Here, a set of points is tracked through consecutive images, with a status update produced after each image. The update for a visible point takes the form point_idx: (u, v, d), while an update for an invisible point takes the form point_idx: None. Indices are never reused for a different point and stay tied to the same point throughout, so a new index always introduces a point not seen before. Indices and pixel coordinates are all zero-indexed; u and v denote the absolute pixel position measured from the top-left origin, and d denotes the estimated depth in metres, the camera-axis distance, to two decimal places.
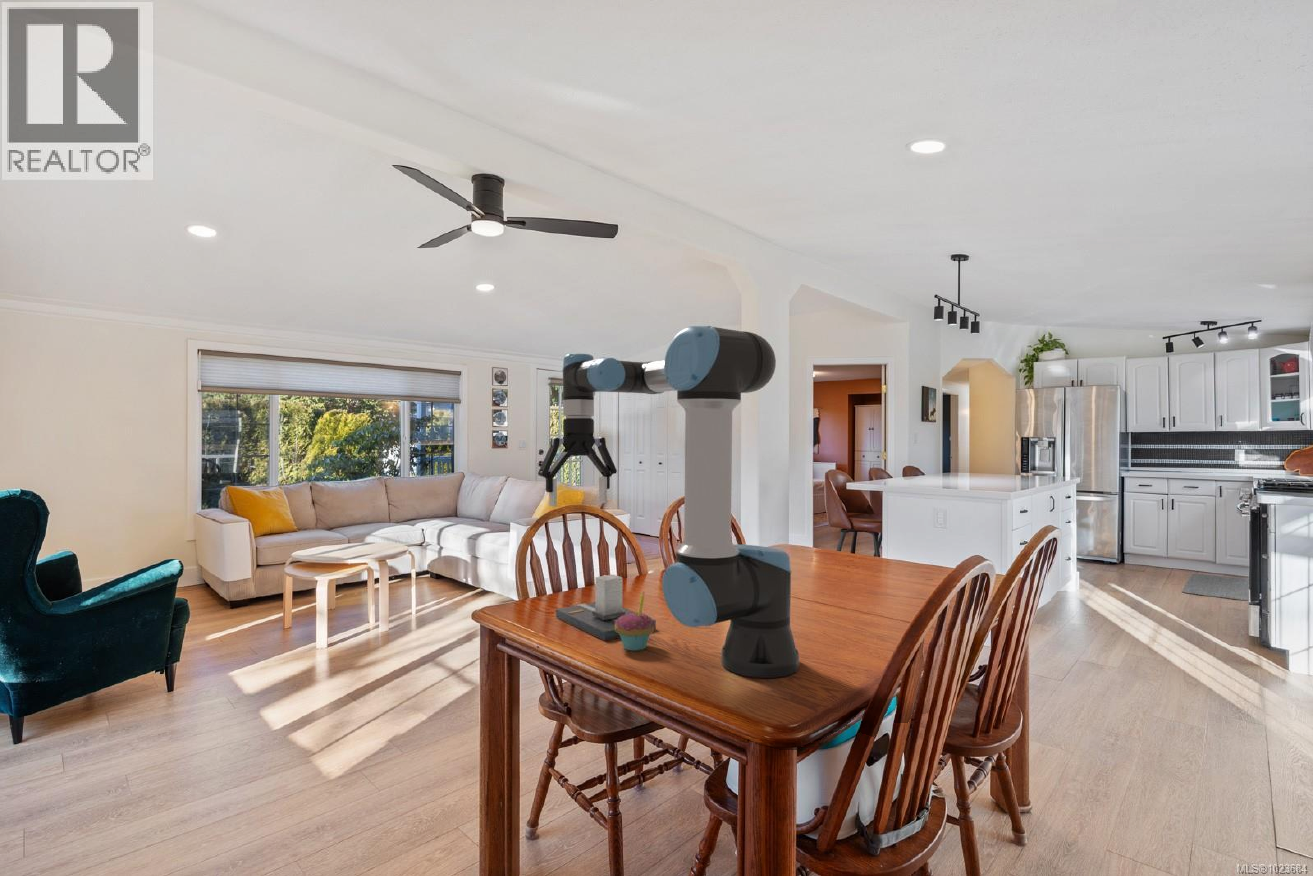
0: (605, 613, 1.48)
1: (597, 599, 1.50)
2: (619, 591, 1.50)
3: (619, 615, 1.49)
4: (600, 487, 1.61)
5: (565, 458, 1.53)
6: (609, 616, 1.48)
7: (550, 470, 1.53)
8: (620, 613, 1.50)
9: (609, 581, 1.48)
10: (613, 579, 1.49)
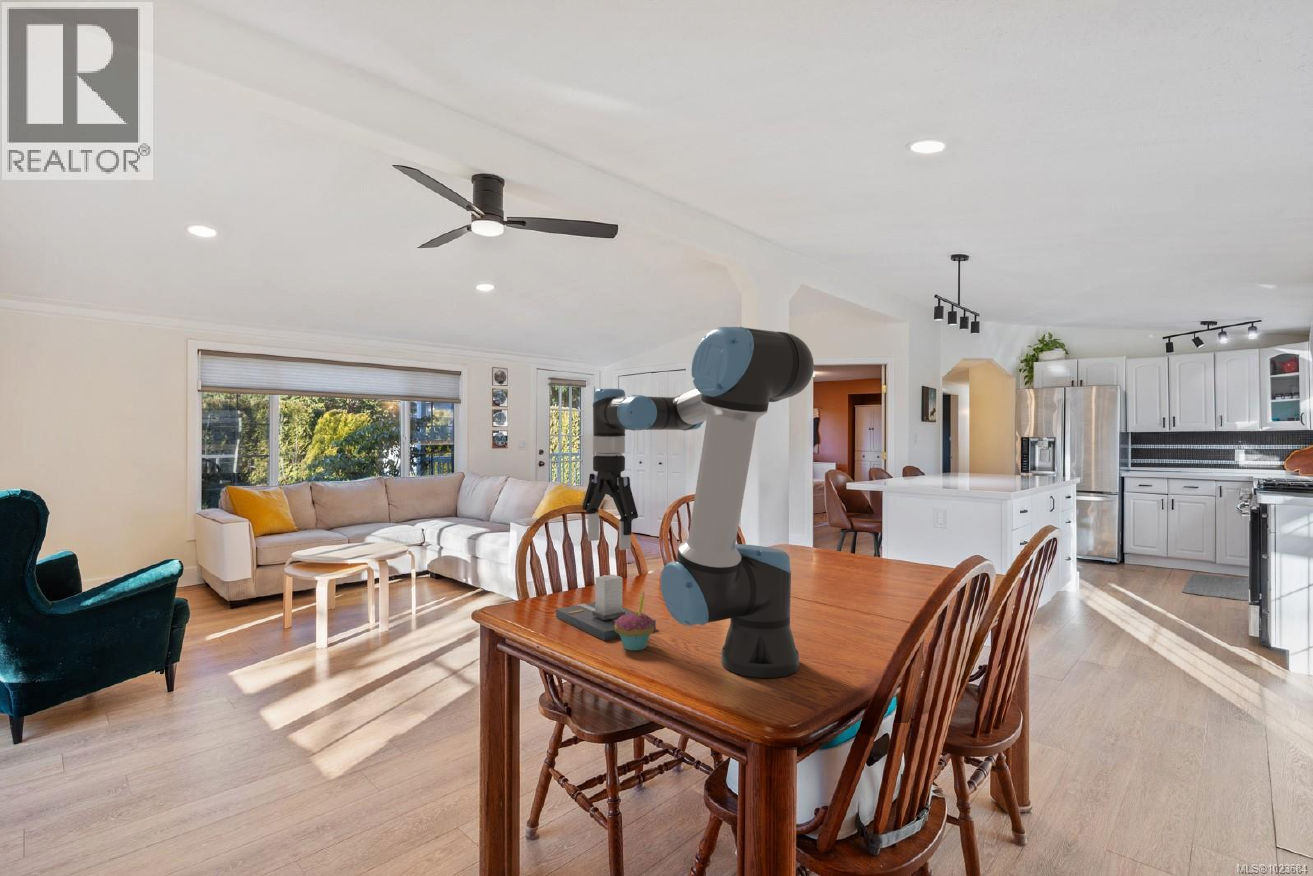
0: (605, 613, 1.48)
1: (597, 599, 1.50)
2: (619, 591, 1.50)
3: (619, 615, 1.49)
4: None
5: (595, 495, 1.53)
6: (609, 616, 1.48)
7: None
8: (620, 613, 1.50)
9: (609, 581, 1.48)
10: (613, 579, 1.49)
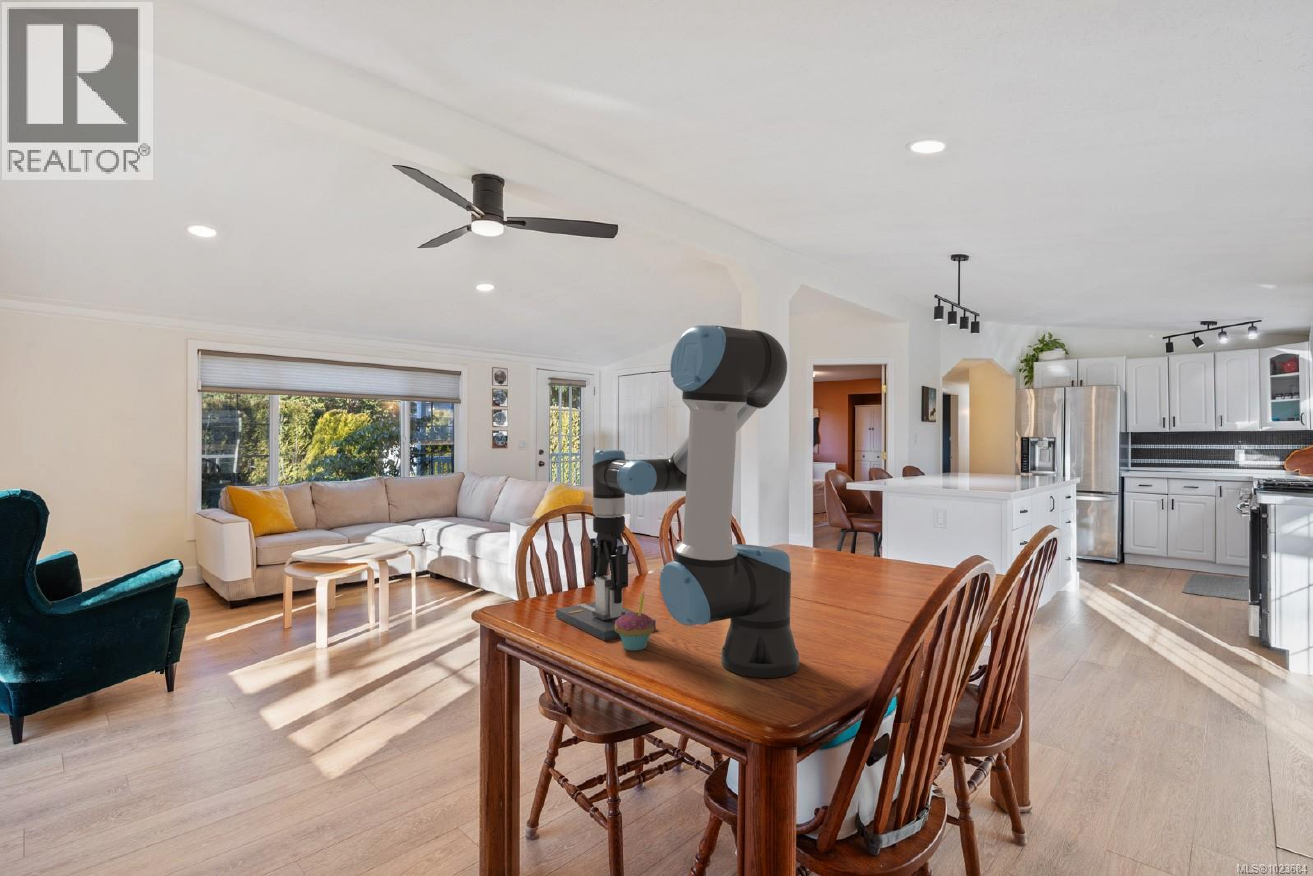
0: (605, 613, 1.48)
1: (597, 599, 1.50)
2: None
3: None
4: None
5: (599, 559, 1.52)
6: (609, 616, 1.48)
7: None
8: None
9: (609, 581, 1.48)
10: None
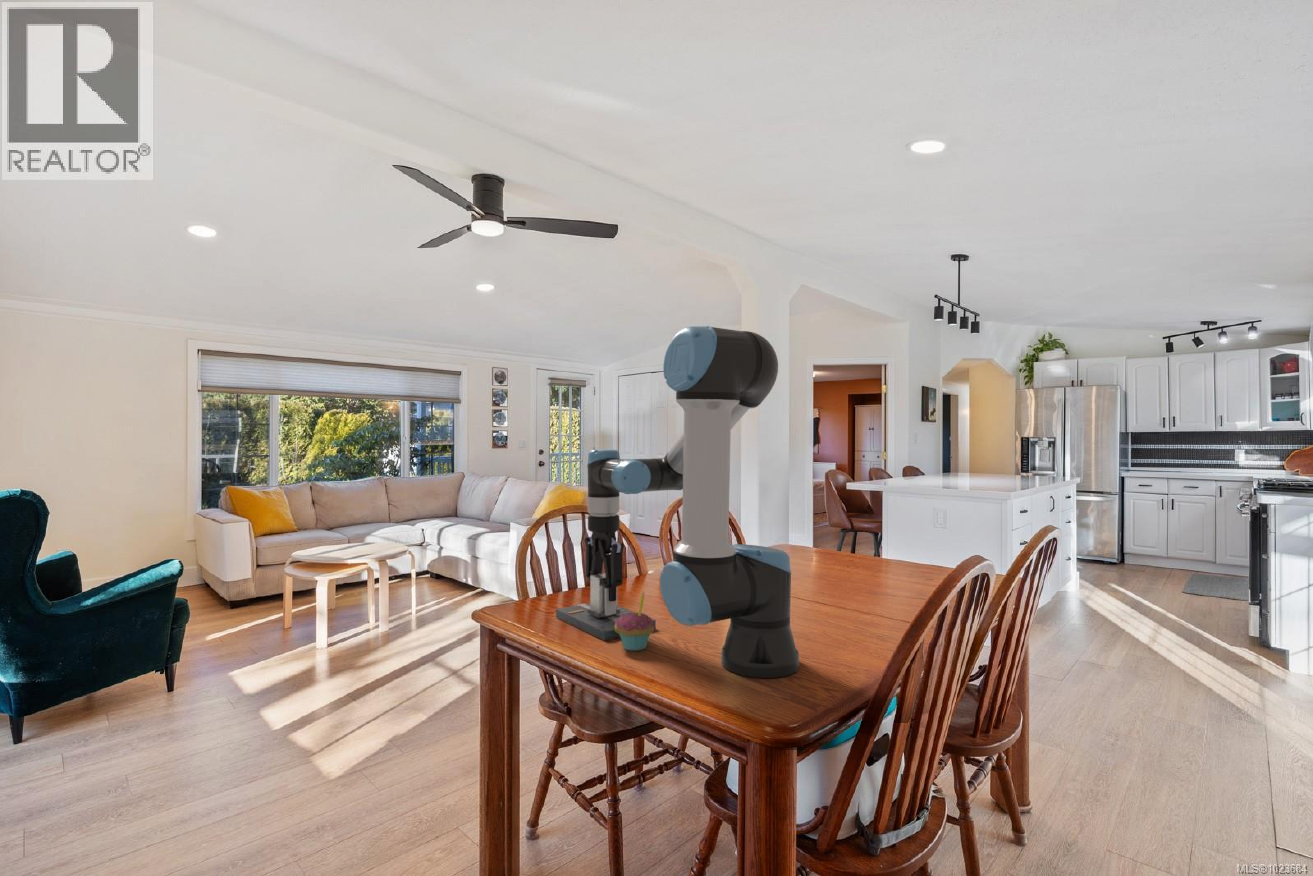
0: (600, 611, 1.50)
1: (592, 597, 1.52)
2: None
3: None
4: None
5: (594, 558, 1.53)
6: (604, 614, 1.50)
7: None
8: None
9: (604, 579, 1.50)
10: None
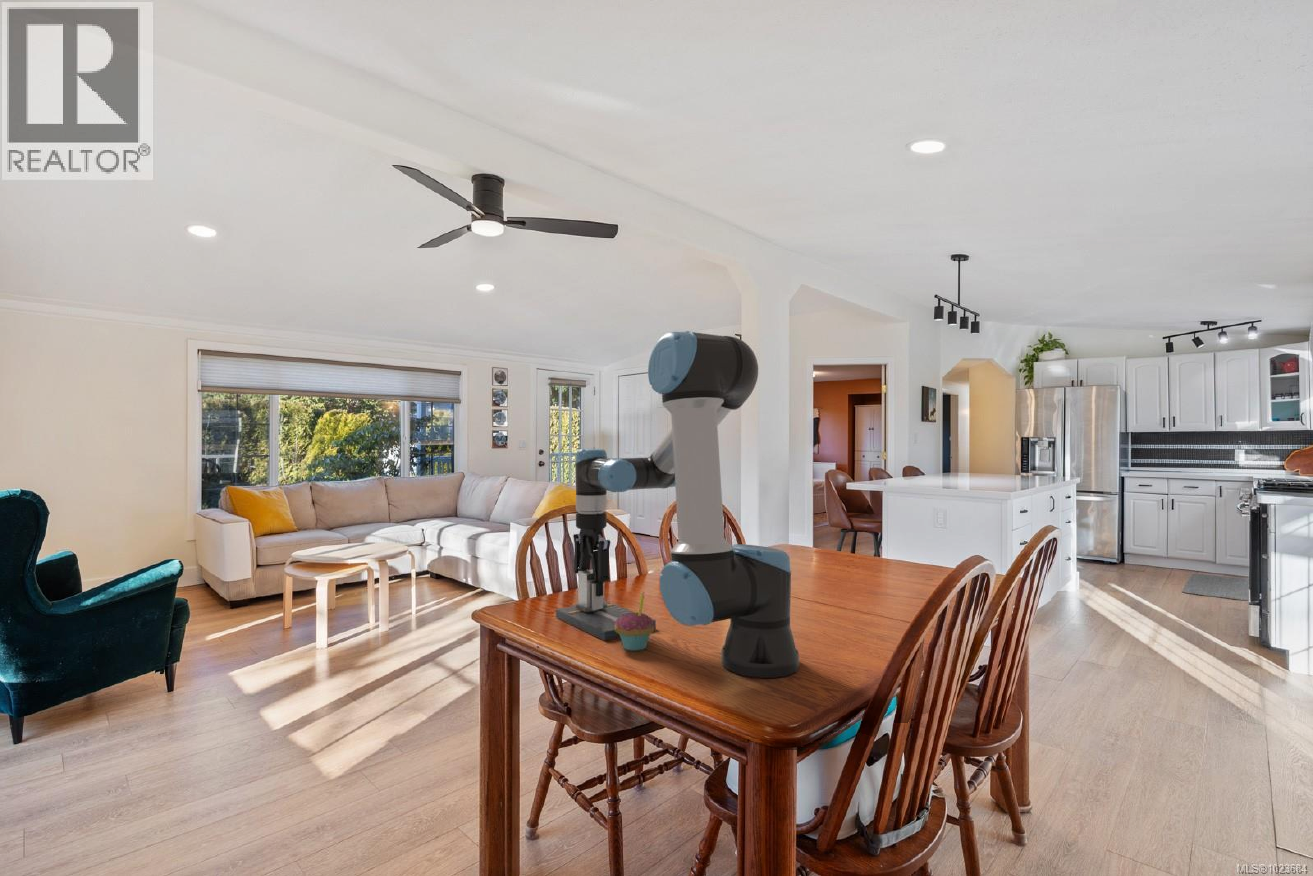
0: (587, 605, 1.54)
1: (580, 593, 1.56)
2: None
3: None
4: None
5: (582, 554, 1.58)
6: (591, 608, 1.54)
7: None
8: None
9: (591, 575, 1.55)
10: None
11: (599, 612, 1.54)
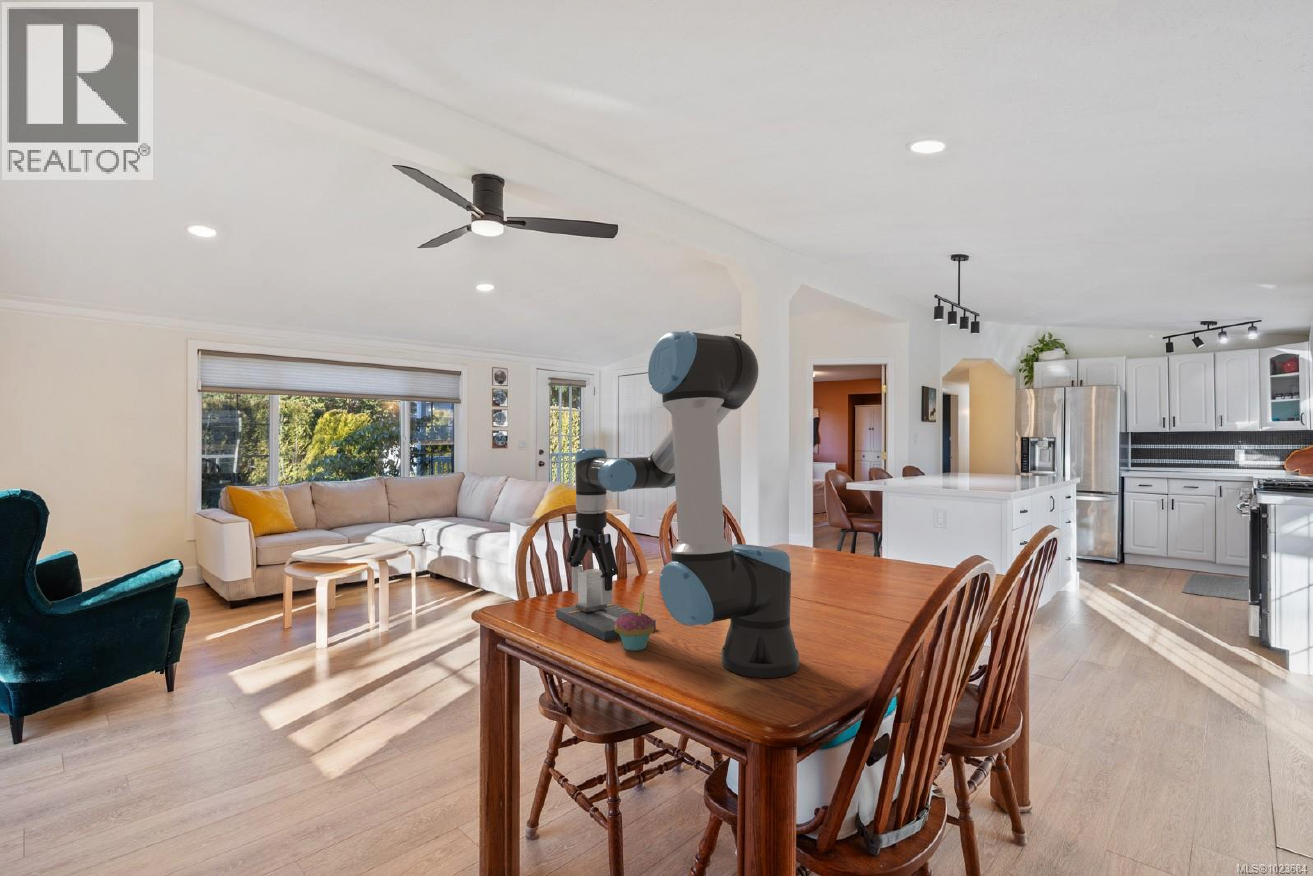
0: (587, 605, 1.54)
1: (580, 593, 1.56)
2: None
3: (601, 607, 1.56)
4: None
5: (578, 549, 1.59)
6: (591, 608, 1.54)
7: None
8: (602, 606, 1.56)
9: (591, 575, 1.55)
10: (595, 573, 1.55)
11: (599, 612, 1.54)
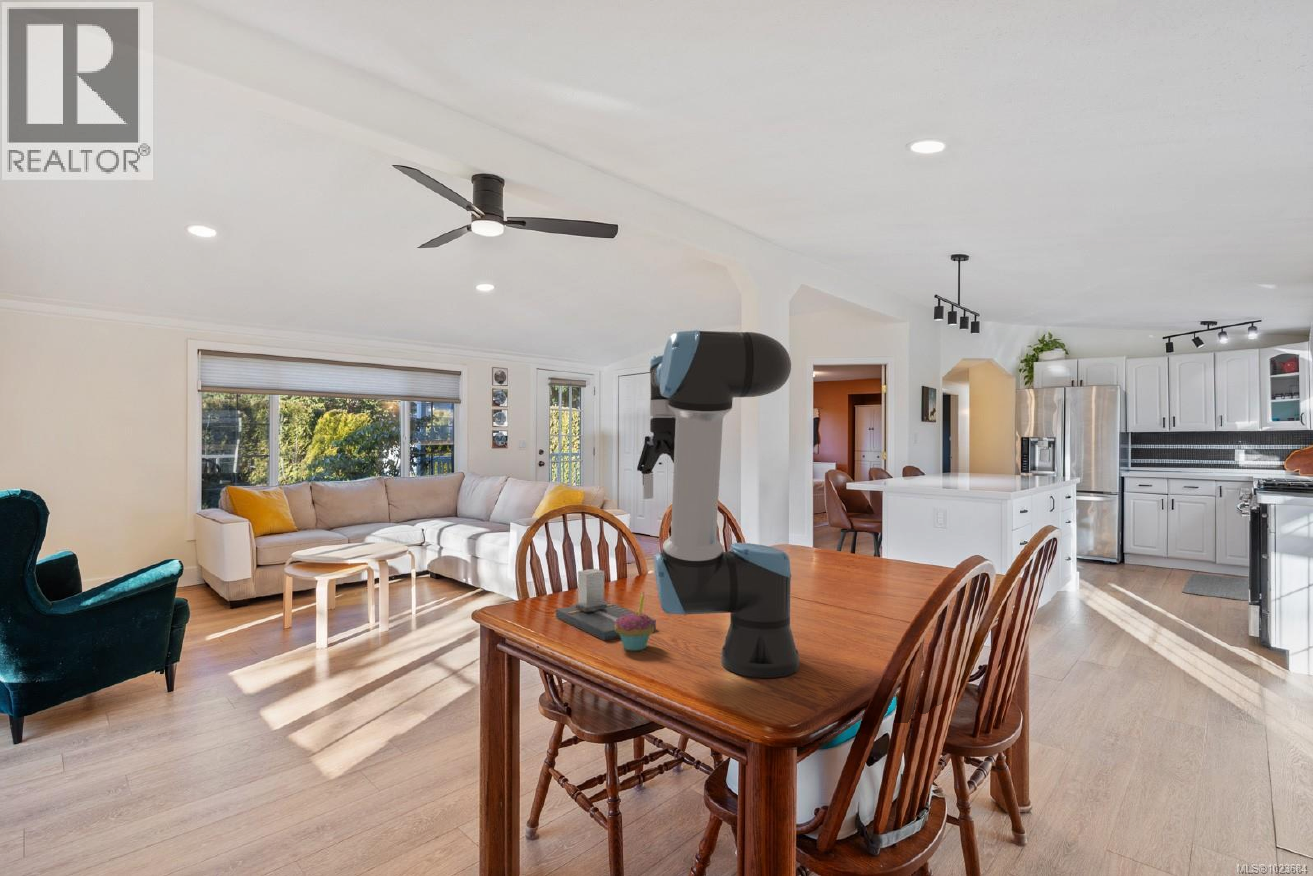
0: (587, 605, 1.54)
1: (580, 593, 1.56)
2: (601, 584, 1.56)
3: (601, 607, 1.56)
4: None
5: (651, 455, 1.65)
6: (591, 608, 1.54)
7: None
8: (602, 606, 1.56)
9: (591, 575, 1.55)
10: (595, 573, 1.55)
11: (599, 612, 1.54)
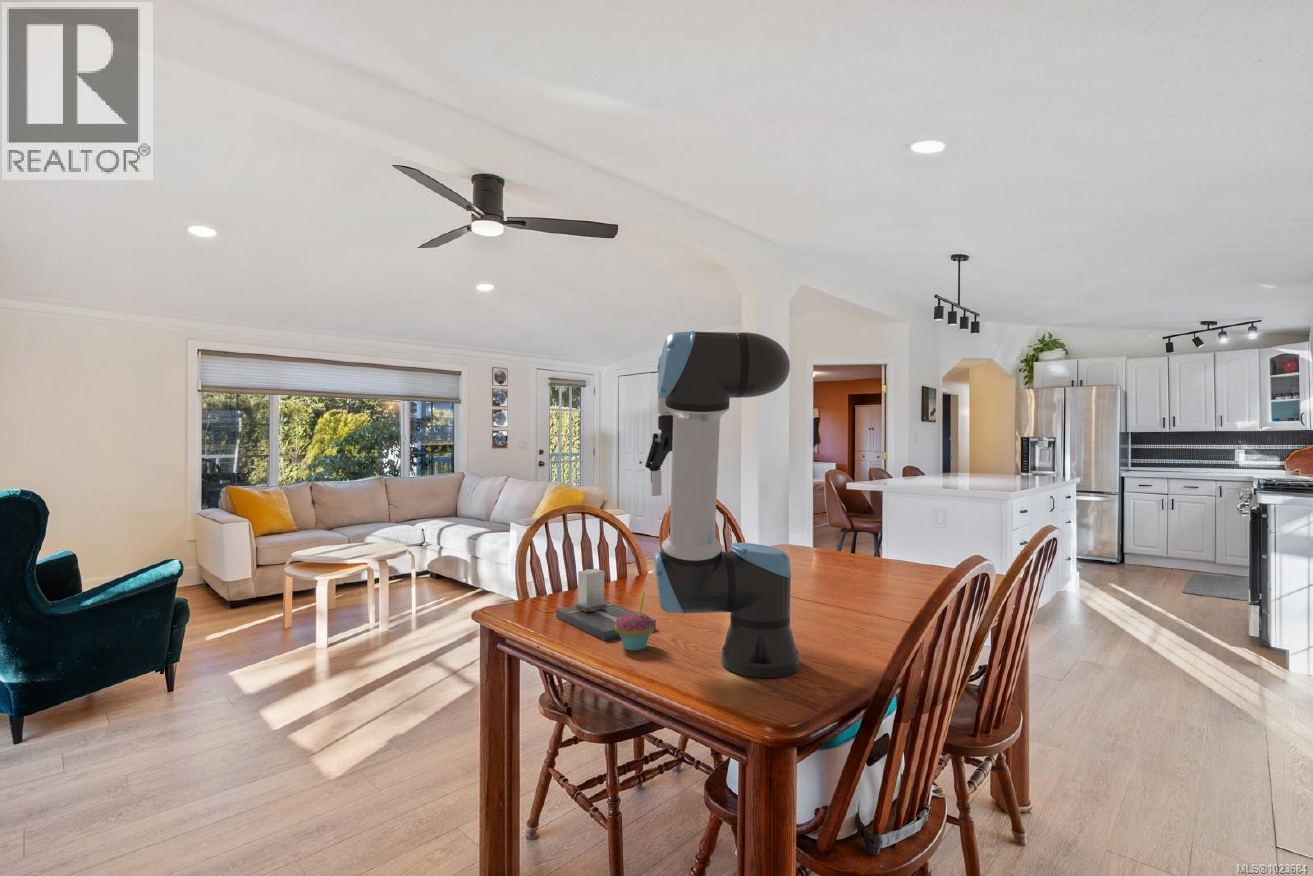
0: (587, 605, 1.54)
1: (580, 593, 1.56)
2: (601, 584, 1.56)
3: (601, 607, 1.56)
4: None
5: (659, 453, 1.66)
6: (591, 608, 1.54)
7: None
8: (602, 606, 1.56)
9: (591, 575, 1.55)
10: (595, 573, 1.55)
11: (599, 612, 1.54)
